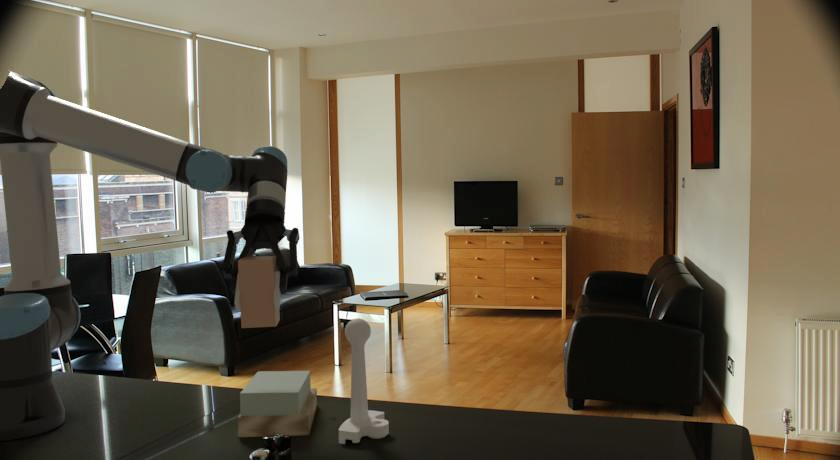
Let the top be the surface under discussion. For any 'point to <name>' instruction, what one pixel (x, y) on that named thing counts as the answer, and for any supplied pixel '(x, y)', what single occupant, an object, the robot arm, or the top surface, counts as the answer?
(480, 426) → the top surface
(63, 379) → the top surface
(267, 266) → the terracotta column
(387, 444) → the top surface
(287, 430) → the tower base
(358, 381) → the joystick
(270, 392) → the tower top
